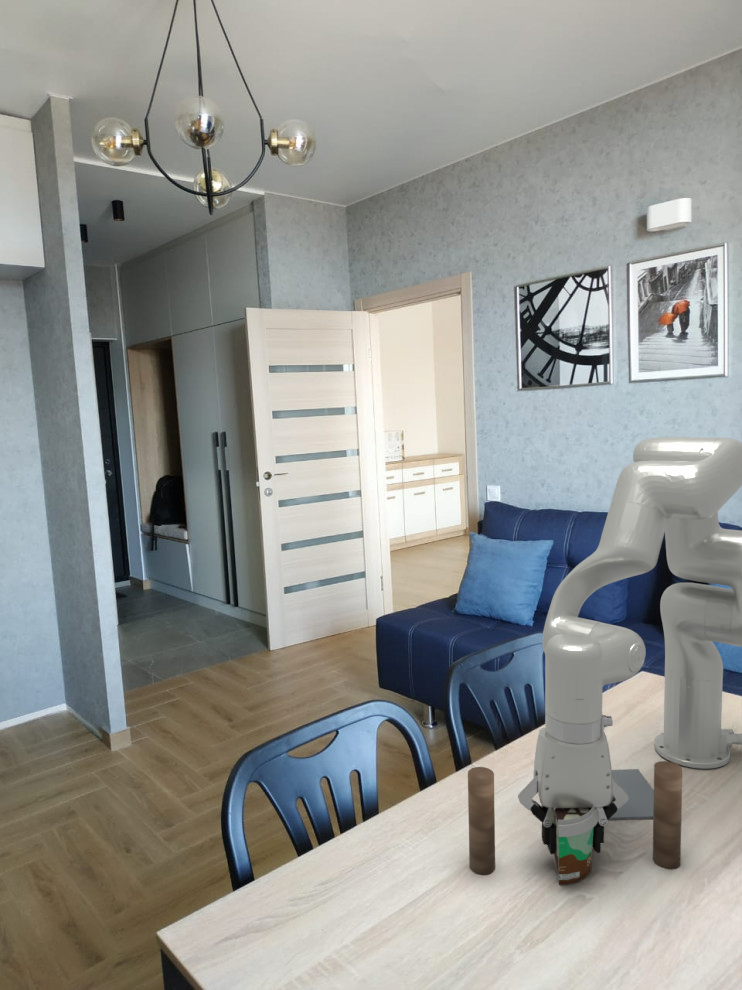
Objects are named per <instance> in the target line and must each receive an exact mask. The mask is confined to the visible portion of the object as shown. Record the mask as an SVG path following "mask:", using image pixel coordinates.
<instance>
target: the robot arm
mask: <svg viewBox="0 0 742 990" xmlns="http://www.w3.org/2000/svg"><path fill="white" fill-rule="evenodd" d="M632 453H633V454H632V458H633V462H631V463H629V464H628V465H626V466H625V467H624V468H623V469H622V470H621V471H620V473H619V475H618V478H617V481H616V484H615V488H614V491H613V495H612V498H611V502H610V506H609V508H608V512H607V515H606V519H605V522H604V525H603V529H602V532H601V536H600V540H599V543H598V546H597V547H596V550H595V551H594V552H593V553H592V554H590V555H589V556H587V557H586V558H585V559H584V560H582V561H581V562H580V563H579V564H577V565H576V566H575V567H574V568H573V569H572V570H571V571H570V572H569V573H568V574H567V575H566V577H564V579H563V580H562V581H561V582H560V583H559V585H558V586H557V588H556V590H554V594H553V596H552V599H551V603H550V605H549V609H548V612H547V615H546V619H545V622H544V626H543V631H542V638H541V639H542V642H541V643H542V649H543V653H544V656H545V657H544V658H545V661H544V663H545V664H544V665H545V668H544V669H545V670H544V671H545V672H544V673H545V674H544V676H545V677H544V679H545V680H544V681H545V688H544V689H545V693H544V695H545V696H544V697H545V699H544V703H545V704H544V709H545V710H544V711H545V712H544V713H545V719H544V720H545V721H544V724H545V725H544V727H542V728H541V729H539V732H538V735H537V739H536V746H535V753H534V762H533V763H534V765H533V778H532V780H530V782H528V784H527V785H526V786H525V787H524V788H523V789H522V790H521V791H520V793H518V795H517V798H518V801H519V804H521V805H522V807H524V808H526V809H527V810H528V811H530V812H531V814H532V815H533V816H535V818H536V819H538V820H539V821H540V822H541V841H542V844H543V845H545V846H547V848H548V852H549V854H550V855H553V854H554V853H556V828H555V825H554V823H553V820H554V817H555V815H556V809H558V808H592V807H593V805H594V807H597V809H598V813H599V820H598V822H597V824H596V825H595V826H594V831H593V848H592V850H593V851H594V853H597V854H601V853H602V844H605V826H607V825H608V823H609V822H608V821H609V820H608V819H609V818H610V817H612V816H613V815H614V814H615V813H616V812H617V809H618V808H620V807H621V806H622V805H624V804H625V803H626V802H627V801H628V800H629V797H628V796H627V794H626V793H625V791H624V790H623V789H622V788H621V787H620V786H619V785H618V784H617V783H616V782H615V781H614V780H613V779H612V770H613V769H612V762H611V755H610V748H609V743H608V739H607V735H606V733H605V731H604V730H605V728H608V727H612V726H613V717H612V716H611V715H606V714H603V689H604V688H603V687H604V686H605V685H610V684H616V683H619V682H624V681H626V680H629V679H632V677H635V676H636V674H638V673H639V672H640V670H641V669H642V667H643V666H644V664H645V663H644V662H645V660H646V659H645V658H646V645H645V642H644V640H643V639H642V637H641V636H640V635H639V634H638V633H637V632H635V631H633V630H632V629H629V628H627V627H625V626H624V627H623V626H619V625H614V624H610V623H606V622H601V621H597V620H592V619H587V618H583V617H579V614H580V612H581V609H582V606H583V605H584V603H585V602H586V600H587V599H589V597H590V596H592V595H593V593H595V592H596V591H597V590H599V589H602V588H603V587H604V586H607V585H610V584H612V583H614V582H618V581H622V580H625V579H627V578H632V577H635V576H639V575H643V574H646V573H648V572H650V571H652V570H653V569H654V568H655V567H656V566H657V563H658V559H659V555H660V551H661V548H662V544H663V540H664V537H665V540H664V541H665V550H666V551H665V552H666V553H665V554H666V562H667V566H668V569H669V571H670V572H671V573H672V575H674V576H676V577H678V578H680V579H683V580H689V581H694V582H676V583H673V584H671V585H670V586H668V587H666V589H665V590H664V591H663V593H662V595H661V598H660V602H659V603H660V604H659V606H660V607H659V609H660V618H661V622H662V628H663V636H664V656H665V657H664V694H663V696H664V700H663V701H664V703H663V704H664V705H663V707H664V708H663V732H662V733H659V734H658V735H657V736H656V737H655V739H654V744H653V745H654V746H653V747H654V749H655V751H656V753H658V755H659V756H661V757H662V758H664V759H665V760H667V761H668V762H673V763H675V764H678V765H679V766H683V767H687V768H692V769H702V770H703V769H704V770H705V769H706V770H709V769H710V770H711V769H717V768H721V767H723V766H725V765H727V764H728V763H729V762H730V759H731V753H730V747H732V745H737V746H738V745H739V746H742V733H735V731H734V729H733V728H725V729H722V719H723V718H722V715H723V713H722V710H723V708H722V707H723V682H724V681H723V679H724V678H723V677H724V676H723V675H724V663H723V659H722V656H721V654H720V651H719V650H718V648H717V646H716V645H715V642H717V643H719V644H724V645H730V646H734V647H740V648H742V530H739V529H728V528H723V527H721V526H720V522H719V511H720V510H721V509H722V508H723V507H724V505H725V504H726V503H728V501H729V500H730V499H731V498H732V497H733V496H734V495H735V494H736V493H737V492H738V491H739V490H740V488H741V487H742V442H740V441H739V440H737V439H734V438H728V437H690V436H689V437H688V436H687V437H686V436H658V437H651V438H646V439H643V440H642V441H639V442H638V443H637V444H636V445H635V447H634V450H633V452H632ZM695 582H699V583H695ZM700 582H701V583H700ZM703 583H706V584H703ZM710 584H713V585H710ZM716 585H719V586H716ZM720 586H728V587H729V588H727V587H720ZM536 795H538V797H539V802H540V804H539V803H538V802H537V801H536V800H534V798H535V796H536Z"/></svg>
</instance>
